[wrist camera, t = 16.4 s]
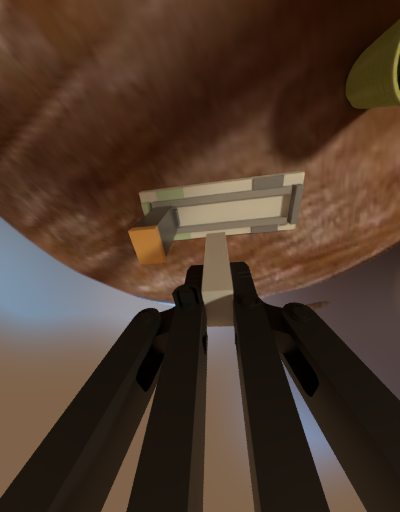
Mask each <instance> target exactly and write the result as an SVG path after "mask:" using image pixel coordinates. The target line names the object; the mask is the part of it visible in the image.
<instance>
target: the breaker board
mask: <svg viewBox="0 0 400 512" xmlns="http://www.w3.org/2000/svg"><path fill="white" fill-rule="evenodd" d="M304 175H305V172H301V171H296V172H288V173H280V174H272V175H264V176H256V177H249V178H241V179H233V180H225V181H217V182H209V183H201V184H194V185H186V186H178V187H170V188H162V189H154V190H146V191H142V192H140V193H139V196H140V200H141V203H142V204H141V206H142V209H143V213H144V216H146V215H147V214H148V213H149V212H150V211H151V210H152V209H153V208H156V207H165V206H172V208H173V209H175V208H177V209H178V215H179V220H180V226H178V227H177V233H176V235H175V237H174V240H183V239H191V238H200V237H206V234H208V233H219V232H225V235H233V234H244V233H260V232H271V231H277V230H287V229H295V224H297V222H298V216H299V211H300V206H301V200H302V195H303V190H304V185H303V181H304Z"/></svg>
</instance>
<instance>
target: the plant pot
mask: <svg viewBox="0 0 400 512" xmlns="http://www.w3.org/2000/svg"><path fill="white" fill-rule="evenodd" d="M345 93H346V97H347V99H348V100H349V102H350V104H351V105H352V107H354V108H357V109H366V108H376V107H387V106H400V19H399V20H398V21H397V22H395V23H394V24H393V25H392V26H391V27H390V28H389V29H388V30H387V31H386V32H384V33H383V34H382V35H381V36H380V37H379V38H378V39H377V40H376V41H374V42H373V43H372V44H371V45H370V46H369V47H368V48H367V49H366V50H365V51H364V52H363V53H362V54H361V55H360V56H359V58H358V59H357V60H356V62H355V63H354V65H353V66H352V68H351V70H350V73H349V75H348V78H347V82H346V89H345Z"/></svg>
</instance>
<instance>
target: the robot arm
mask: <svg viewBox="0 0 400 512" xmlns="http://www.w3.org/2000/svg"><path fill="white" fill-rule="evenodd" d="M172 295H173V298H174V302H175V305H176V306H175V307H173V308H171V309H169V310H166V311H163V312H159V311H158V310H157V309H155V308H147V309H144V310H142V311H141V312H139V313H138V314H137V315H136V316H135V317H134V318H133V319H132V321H131V322H130V324H129V325H128V326H127V328H126V329H125V330H124V332H123V333H122V334H121V336H120V337H119V338H118V340H117V341H116V342H115V344H114V345H113V346H112V348H111V349H110V351H109V352H108V353H107V355H106V356H105V357H104V359H103V360H102V361H101V363H100V364H99V365H98V367H97V368H96V369H95V371H94V372H93V374H92V375H91V376H90V378H89V379H88V381H87V382H86V383H85V385H84V386H83V387H82V388H81V390H80V391H79V393H78V394H77V395H76V397H75V398H74V399H73V401H72V402H71V403H70V405H69V406H68V407H67V409H66V410H65V412H64V413H63V414H62V416H61V417H60V418H59V420H58V421H57V422H56V424H55V425H54V426H53V428H52V429H51V430H50V432H49V433H48V435H47V436H46V437H45V439H44V440H43V441H42V443H41V444H40V446H39V447H38V448H37V449H36V451H35V452H34V453H33V455H32V456H31V458H30V459H29V460H28V462H27V463H26V464H25V466H24V467H23V469H22V470H21V471H20V472H19V474H18V475H17V476H16V478H15V479H14V480H13V482H12V483H11V485H10V486H9V487H8V489H7V490H6V491H5V493H4V494H3V495H2V497H1V498H0V512H101V510H102V508H103V506H104V503H105V501H106V499H107V496H108V494H109V492H110V489H111V487H112V485H113V482H114V480H115V478H116V476H117V474H118V471H119V469H120V467H121V464H122V462H123V460H124V458H125V455H126V453H127V451H128V449H129V446H130V444H131V442H132V439H133V437H134V435H135V432H136V430H137V428H138V426H139V424H140V421H141V419H142V417H143V414H144V412H145V410H146V408H147V405H148V403H149V401H150V398H151V396H152V394H153V392H154V389H155V387H156V385H157V387H156V390H155V395H154V399H153V403H152V407H151V411H150V416H149V420H148V424H147V428H146V432H145V436H144V441H143V445H142V449H141V453H140V457H139V462H138V466H137V470H136V474H135V478H134V482H133V487H132V491H131V495H130V499H129V504H128V508H127V511H126V512H203V483H204V481H203V480H204V446H205V412H206V411H205V410H206V376H207V375H206V374H207V340H208V336H207V326H209V327H211V326H234V328H235V344H236V350H237V359H238V368H239V377H240V386H241V394H242V404H243V412H244V421H245V430H246V438H247V448H248V456H249V465H250V474H251V483H252V492H253V501H254V510H255V512H330V510H329V507H328V504H327V501H326V498H325V495H324V492H323V489H322V485H321V482H320V479H319V476H318V473H317V470H316V467H315V464H314V461H313V457H312V454H311V452H310V448H309V445H308V442H307V439H306V436H305V433H304V429H303V426H302V423H301V420H300V417H299V414H298V411H297V408H296V405H295V401H294V399H293V396H292V392H291V389H290V386H289V383H288V380H287V377H286V374H285V370H284V367H283V364H282V361H283V363H284V365H285V367H286V368H287V370H288V372H289V374H290V376H291V377H292V379H293V381H294V383H295V385H296V386H297V388H298V390H299V392H300V393H301V395H302V397H303V399H304V401H305V402H306V404H307V406H308V408H309V409H310V411H311V413H312V414H313V416H314V418H315V420H316V422H317V423H318V425H319V427H320V429H321V431H322V432H323V434H324V436H325V438H326V440H327V441H328V443H329V445H330V446H331V448H332V450H333V452H334V454H335V455H336V457H337V459H338V461H339V463H340V464H341V466H342V468H343V470H344V471H345V473H346V475H347V477H348V479H349V480H350V482H351V484H352V486H353V487H354V489H355V491H356V493H357V495H358V496H359V498H360V500H361V501H362V503H363V505H364V507H365V509H366V510H367V512H400V400H399V399H398V398H397V397H396V396H395V395H394V394H393V393H392V392H391V391H390V390H389V389H388V388H387V387H386V386H385V385H384V384H383V383H382V382H381V381H380V380H379V379H378V377H377V376H376V375H375V374H374V373H373V372H372V371H371V370H370V369H369V368H368V367H367V366H366V365H365V364H364V363H363V362H362V361H361V360H360V359H359V358H358V357H357V356H356V355H355V353H354V352H353V351H352V350H351V349H350V348H349V347H348V346H347V345H346V344H345V343H344V342H343V341H342V340H341V339H340V338H339V337H338V336H337V335H336V333H335V332H334V331H333V330H332V329H331V328H330V327H329V326H328V325H327V324H326V323H325V322H324V321H323V320H322V319H321V318H320V317H319V316H318V315H317V314H316V313H315V312H314V311H313V310H312V309H311V308H310V307H308V306H306V305H304V304H301V303H288V304H286V305H285V306H284V307H283V308H281V307H276V306H272V305H269V304H266V303H264V302H263V301H262V300H261V299H260V298H259V297H258V295H257V293H256V289H255V286H254V283H253V279H252V277H251V273H250V270H249V266H248V265H247V264H246V263H245V262H231V263H229V257H228V250H227V243H226V236H225V232H219V233H208V234H206V245H205V257H204V265H193V266H191V267H190V268H189V269H188V270H187V274H186V279H185V284H184V285H181V286H179V287H177V288H176V289H175V290H174V292H173V293H172ZM281 360H282V361H281Z"/></svg>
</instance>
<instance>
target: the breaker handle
mask: <svg viewBox="0 0 400 512" xmlns="http://www.w3.org/2000/svg"><path fill="white" fill-rule="evenodd" d="M178 226H180V220H179V215H178V209H177V208H175V209H173V208H172V206H165V207H156V208H153V209H152V210H151V211H150V212H149V213H148V214H147V215H146V216H145V217H144V218H143V219H142V220H141V221H139V222H138V223H137V224H136V225H135V226H134V227H133V228H131V229H130V230H129V231H128V233H129V236H130V238H131V241H132V244H133V246H134V249H135V252H136V254H137V257H138V260H139V262H140V265H142V264H155V263H164V262H165V260H166V256H167V254H168V251H169V249H170V247H171V244H172V242H173V240H174V237H175V235H176V233H177V227H178Z"/></svg>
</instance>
